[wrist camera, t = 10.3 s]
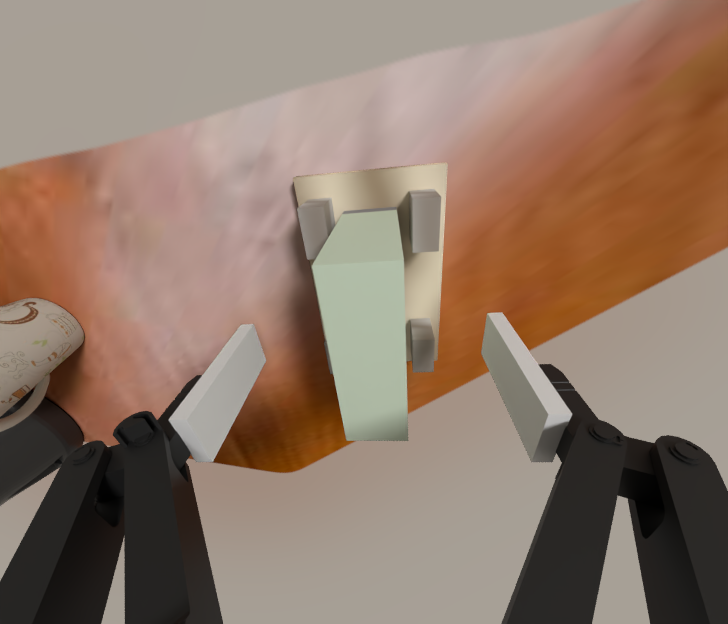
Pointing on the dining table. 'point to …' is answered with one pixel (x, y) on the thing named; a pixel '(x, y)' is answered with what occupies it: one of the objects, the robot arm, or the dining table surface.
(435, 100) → the dining table surface
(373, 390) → the door panel
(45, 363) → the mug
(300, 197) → the hinge bracket
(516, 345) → the robot arm
